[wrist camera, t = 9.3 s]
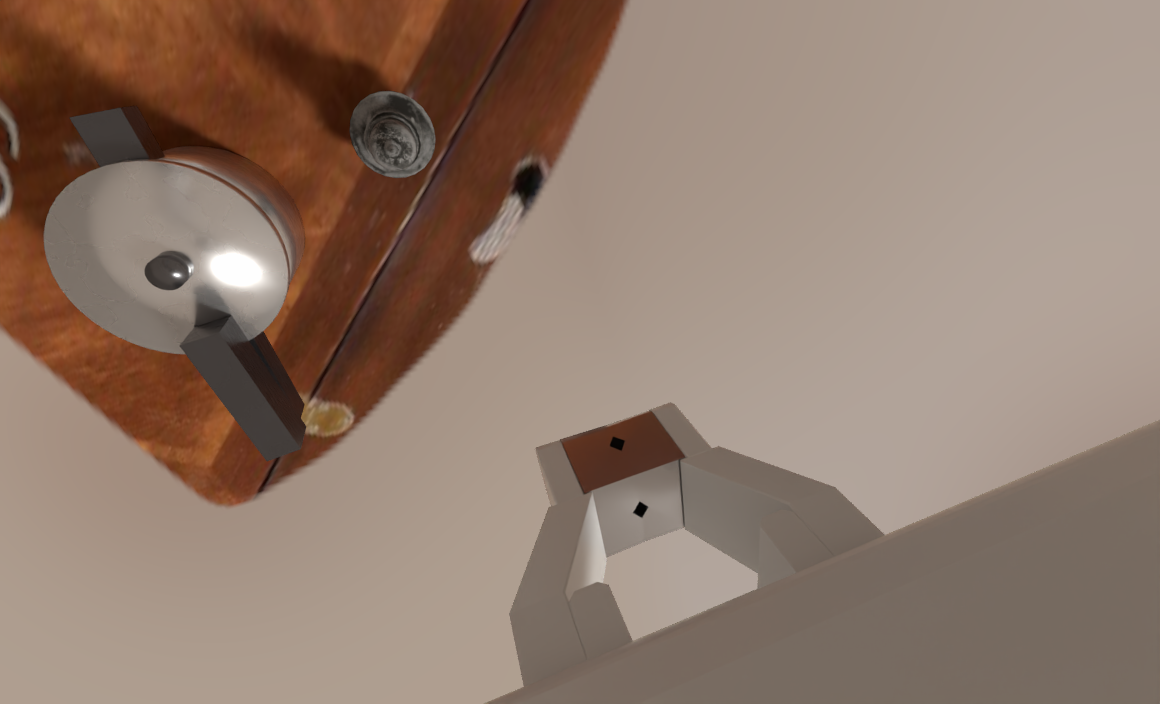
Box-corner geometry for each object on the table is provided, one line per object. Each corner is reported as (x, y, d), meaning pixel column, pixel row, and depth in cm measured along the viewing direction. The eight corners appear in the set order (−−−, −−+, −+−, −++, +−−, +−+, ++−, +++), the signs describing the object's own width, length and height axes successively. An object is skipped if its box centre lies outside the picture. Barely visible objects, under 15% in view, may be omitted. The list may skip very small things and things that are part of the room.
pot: (53, 124, 35) (-30, 136, 28) (242, 87, 37) (207, 90, 30) (229, 396, 46) (201, 451, 40) (365, 356, 48) (360, 402, 42)
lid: (-4, 195, 29) (-54, 210, 26) (223, 133, 31) (203, 139, 28) (211, 454, 40) (194, 487, 36) (371, 396, 41) (368, 423, 38)
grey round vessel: (368, 177, 42) (358, 210, 32) (341, 96, 39) (321, 104, 29) (441, 162, 43) (454, 190, 33) (420, 83, 40) (428, 87, 30)
